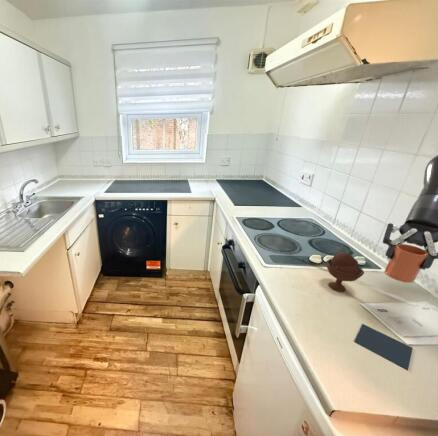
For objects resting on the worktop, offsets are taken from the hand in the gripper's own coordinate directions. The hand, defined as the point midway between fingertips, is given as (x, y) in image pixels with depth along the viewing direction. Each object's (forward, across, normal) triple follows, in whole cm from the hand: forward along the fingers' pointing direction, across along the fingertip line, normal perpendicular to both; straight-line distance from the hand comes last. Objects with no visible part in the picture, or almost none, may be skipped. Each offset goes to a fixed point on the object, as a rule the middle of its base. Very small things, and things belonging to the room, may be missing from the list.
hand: (405, 262), depth 66 cm
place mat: (+22, +3, +9) cm, 24 cm away
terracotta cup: (+3, 0, +5) cm, 6 cm away
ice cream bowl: (+8, -13, +23) cm, 28 cm away
